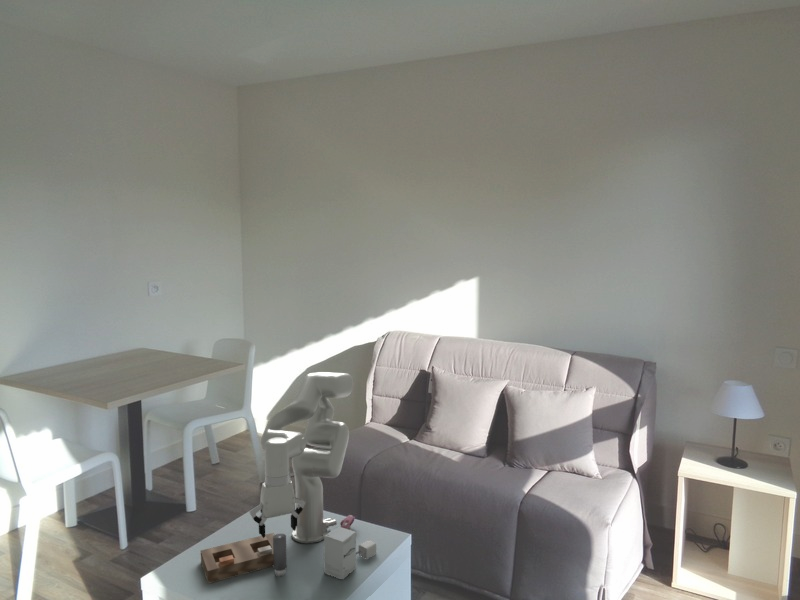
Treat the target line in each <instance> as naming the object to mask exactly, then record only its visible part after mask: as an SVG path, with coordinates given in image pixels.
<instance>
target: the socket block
mask: <svg viewBox="0 0 800 600" xmlns="http://www.w3.org/2000/svg"><path fill="white" fill-rule="evenodd" d="M274 535H276V533H274V532H271V533H267V534H266V533H265V537H264V538H263V537H262V535H259V536H255V537H254V536H253V537H249V538H247V539H243V540H238V541H235V542H230V543H227V544H223V545H218V546H214V547H210V548H206V549H202V550H200V563H201V566H202V569H203V571H204V575H205V578H206V582H207V584H210V583H215V582H219V581H223V580H226V579H230V578H232V577H238V576H242V575H245V574H247V573H251V572H252V573H253V572H255V571H258V570H263V569H266V568H270V567H274V559H273V536H274Z"/></svg>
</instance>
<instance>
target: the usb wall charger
mask: <svg viewBox="0 0 800 600" xmlns="http://www.w3.org/2000/svg"><path fill="white" fill-rule="evenodd" d="M357 549H358V551H357V550H356V555H358V557H359V558H362V557H364V558H366V559H365V560H368V559H370V558H371V556H372V557H373V556H376V554H377V544H376V542H374V541H372V540H370V539H368V540H366V541H364V542H362V543H360V544H359V545H358V548H357ZM361 556H362V557H361ZM369 557H370V558H369ZM364 558H363V559H364Z"/></svg>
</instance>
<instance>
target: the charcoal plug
mask: <svg viewBox="0 0 800 600" xmlns="http://www.w3.org/2000/svg"><path fill="white" fill-rule="evenodd" d="M273 559H274V566H273V569H274V573H275V576H277V577H283V576H284V575H285V574H286V571H287V570H286V569H287V566H288V563H287V561H288V560H287V535H286V534H285V533H277V534H276V533H275V535H274V536H273Z"/></svg>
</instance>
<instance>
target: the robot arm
mask: <svg viewBox="0 0 800 600" xmlns="http://www.w3.org/2000/svg"><path fill="white" fill-rule="evenodd" d="M353 378H354V377H353V376H352V375H351V374H349V373H347V372H330V371H316V372H310V373H307V374H306V375H304V377H303V378H302V380H301V383H300V385H299V387H298V388H297V389H298V390H297V391H296V394H295V396H294V397H293V399H292V402H291V403H290V404H288V405H286V406H285V407H282V409H280V410H279V411H277V412H276V413H275V414H274V415H272V417H271V418H270V419H269V421H268V423H267V424H266V426H265V428H264V431H263V433H262V436H261V440H260V446H261V449H262V451H264V482H263V483H262V484H261V488H260V489H261V490H260V500H259V501H260V502H259V504H258V505H256V506H254V508H251V510H250V511H249V514H250V517H252V520H254V521H255V523H256V524H258V533H259V535H260V536H262V537H263V538H264V537H265V535H266V524H265V522H266V521H267V520H268V519H271V518H275V517H281V516H285V515H289V514H290V527H291V529H292V532H291V537H292V539H293V540H294V541H295V542H296V543H297V542H298V543H301V544H314V543H318V542H321V541H322V540H323V541H324V536H325V535H326V534H328V533H329V529H328V528H329V527H335V526H337V525H338V523H337V520H336V519H333V520H332V519H331V518H330V517H329V518H325V519H324V494H323V493H324V488H323V487H324V486H323V482H322V480H321V478H326V479H327V478H328V479H334V478H337V477H338V476H339V475H340V473H341V471H342V468H343V465H344V464H343V463H344V459H345V456H346V452H347V448H348V443H349V439H350V438H349V437H350V432H349V431H350V430H349V427H348V425H347V423H346V422H343V421H338V420H333V418H334V415H335V407H334V406H333V404H332V402H331V400H330V399H342V398H347V397H348V396H350V395H351V393H352V392H353V390H354V386H355V385H354V383H355V382H354V379H353ZM329 398H330V399H329ZM306 420H307V423H306V426H305V430H304V433H302V432H300V431H296V430H295V431H294V430H283V429H285V428H286V427H288V426H290V425H293V424H296V423H300V422H303V421H306ZM307 445H309V446H311V447H309V446H307ZM291 465H292V466H291ZM291 468H292V471H291ZM292 477H294V484H293V480H292ZM294 485H295V487H294ZM294 488H295V490H294ZM259 512H260V515H259V516H258V515H257V513H259Z"/></svg>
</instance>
